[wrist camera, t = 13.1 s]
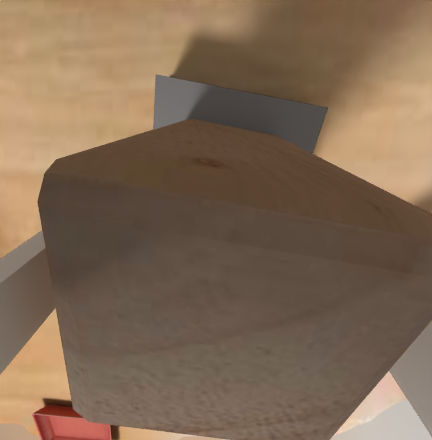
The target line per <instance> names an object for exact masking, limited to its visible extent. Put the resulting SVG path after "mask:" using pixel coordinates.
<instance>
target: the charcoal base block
mask: <svg viewBox="0 0 432 440" xmlns="http://www.w3.org/2000/svg"><path fill="white" fill-rule="evenodd" d="M327 110H328V108H327V107H321V106H316V105H311V104H306V103H301V102H296V101H290V100H285V99H280V98H275V97H270V96H265V95H259V94H254V93H249V92H244V91H239V90H234V89H229V88H223V87H218V86H213V85H208V84H203V83H198V82H192V81H187V80H182V79H177V78H172V77H167V76H161V75H156V82H155V104H154V126H153V130H154V129H157V128H161V127H164V126H167V125H170V124H174V123H177V122H180V121H183V120H188V119H197V120H202V121H207V122H212V123H217V124H222V125H227V126H231V127H236V128H241V129H246V130H251V131H256V132H261V133H266V134H271V135H276V136H278V137H280V138H282V139H284V140H286V141H288V142H290V143H292V144H294V145H296V146H298V147H300V148H302V149H304V150H306V151H308V152H310V153H313V150H314V147H315V144H316V141H317V138H318V136H319V133H320V130H321V127H322V124H323V121H324V118H325V115H326V112H327Z"/></svg>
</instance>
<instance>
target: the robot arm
mask: <svg viewBox="0 0 432 440" xmlns="http://www.w3.org/2000/svg"><path fill="white" fill-rule="evenodd" d="M55 308H56V306H55V300H54V295H53V289H52V283H51V277H50V271H49V265H48V259H47V254H46V248H45V242H44V236H43V230H42V231H40V232H39V233H37V234H36V235H35V236H33V237H32V238H30V239H29V240H27V241H26V242H24V243H23V244H21V245H20V246H18V247H17V248H15V249H14V250H13V251H11V252H10V253H8V254H7V255H5V256H4V257H2V258H1V259H0V374H1V373H2V372H3V371H4V369H5V368H6V367H7V366H8V365H9V363H10V362H11V361H12V360H13V358H14V357H15V356H16V355H17V354H18V352H19V351H20V350H21V349H22V348H23V346H24V345H25V344H26V343H27V342H28V340H29V339H30V338H31V337H32V335H33V334H34V333H35V332H36V331H37V329H38V328H39V327H40V326H41V325H42V323H43V322H44V321H45V320H46V318H47V317H48V316H49V315H50V314H51V312H52V311H53V310H54V309H55ZM389 371H390V373H391V374H392V376H393V378H394V379H395V381H396V382H397V384H398V385H399V387H400V388H401V390H402V391H403V393H404V395H405V396H406V398H407V399H408V401H409V402H410V404H411V405H412V407H413V408H414V410H415V411H416V413H417V414H418V416H419V418H420V419H421V421H422V422H423V424H424V425H425V427H426V428H427V430H428V431H429V433H430V435H431V436H432V321H431V322H430V323H429V324H428V325H427V327H426V328H425V329H424V330H423V331H422V332H421V334H420V335H419V336H418V337H417V338H416V339H415V341H414V342H413V343H412V344H411V345H410V346H409V348H408V349H407V350H406V351H405V352H404V353H403V355H402V356H401V357H400V358H399V359H398V360H397V362H396V363H395V364H394V365H393V366H392V367H391V369H390V370H389Z"/></svg>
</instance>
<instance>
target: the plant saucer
mask: <svg viewBox="0 0 432 440" xmlns="http://www.w3.org/2000/svg"><path fill="white" fill-rule="evenodd" d="M32 416H33V419H34V421H35V424H36V427H37V429H38V432H39V435H40V437H41V440H112V438H111V427H110V425H108V424H100V423H92V422H88V421H87V420H86V419H85V418H83V417H82V416H81V415H80V414H78V413H77V412H76V411H75V410H73V407H69V406H60V405H48V406H46V407H44V408H42V409H40V410H38V411H36V412H35V413H33V414H32Z"/></svg>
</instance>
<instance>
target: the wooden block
mask: <svg viewBox="0 0 432 440" xmlns="http://www.w3.org/2000/svg"><path fill="white" fill-rule="evenodd" d="M38 207H39V213H40V218H41V224H42V230H43V236H44V242H45V248H46V254H47V259H48V265H49V271H50V277H51V283H52V289H53V295H54V300H55V306H56V312H57V318H58V324H59V330H60V335H61V341H62V347H63V353H64V359H65V365H66V371H67V376H68V382H69V388H70V394H71V400H72V406H73V410H75V411H76V412H77V413H78V414H80V415H81V416H82V417H83V418H85V419H86V420H87V421H88V422H92V423H100V424H108V425H116V426H125V427H133V428H141V429H149V430H157V431H165V432H173V433H181V434H189V435H197V436H206V437H214V438H222V439H230V440H330V439H331V437H332V436H333V435H334V434H335V433H336V432H337V430H338V429H339V428H340V427H341V426H342V425H343V423H344V422H345V421H346V420H347V419H348V418H349V416H350V415H351V414H352V413H353V412H354V411H355V409H356V408H357V407H358V406H359V405H360V404H361V402H362V401H363V400H364V399H365V398H366V397H367V395H368V394H369V393H370V392H371V391H372V390H373V388H374V387H375V386H376V385H377V384H378V383H379V381H380V380H381V379H382V378H383V377H384V376H385V374H386V373H387V372H388V371H389V370H390V369H391V367H392V366H393V365H394V364H395V363H396V362H397V360H398V359H399V358H400V357H401V356H402V355H403V353H404V352H405V351H406V350H407V349H408V348H409V346H410V345H411V344H412V343H413V342H414V341H415V339H416V338H417V337H418V336H419V335H420V334H421V332H422V331H423V330H424V329H425V328H426V327H427V325H428V324H429V323H430V322H431V321H432V214H430V213H428V212H426V211H424V210H422V209H420V208H418V207H416V206H414V205H412V204H410V203H408V202H406V201H404V200H402V199H400V198H399V197H397V196H395V195H393V194H391V193H389V192H387V191H385V190H383V189H381V188H379V187H377V186H375V185H373V184H371V183H369V182H367V181H365V180H363V179H361V178H359V177H357V176H355V175H353V174H351V173H349V172H347V171H345V170H343V169H341V168H339V167H337V166H335V165H333V164H331V163H329V162H327V161H325V160H323V159H322V158H320V157H318V156H316V155H314V154H312V153H310V152H308V151H306V150H304V149H302V148H300V147H298V146H296V145H294V144H292V143H290V142H288V141H286V140H284V139H282V138H280V137H278V136H276V135H271V134H266V133H261V132H256V131H251V130H246V129H241V128H236V127H231V126H227V125H222V124H217V123H212V122H207V121H202V120H197V119H188V120H183V121H180V122H177V123H174V124H170V125H167V126H164V127H161V128H157V129H154V130H151V131H147V132H144V133H141V134H138V135H134V136H131V137H128V138H125V139H121V140H118V141H115V142H112V143H108V144H105V145H102V146H99V147H95V148H92V149H89V150H85V151H82V152H79V153H76V154H72V155H69V156H66V157H63V158H59V159H56V160H55V162H54V163H53V164H52V165H51V166H50V168H49V169H48V170H47V171H46V172H45V174H44V178H43V182H42V186H41V190H40V194H39V198H38Z"/></svg>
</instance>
